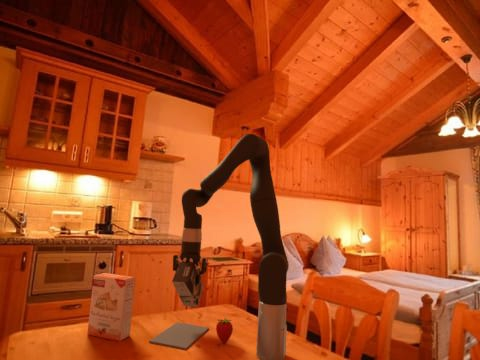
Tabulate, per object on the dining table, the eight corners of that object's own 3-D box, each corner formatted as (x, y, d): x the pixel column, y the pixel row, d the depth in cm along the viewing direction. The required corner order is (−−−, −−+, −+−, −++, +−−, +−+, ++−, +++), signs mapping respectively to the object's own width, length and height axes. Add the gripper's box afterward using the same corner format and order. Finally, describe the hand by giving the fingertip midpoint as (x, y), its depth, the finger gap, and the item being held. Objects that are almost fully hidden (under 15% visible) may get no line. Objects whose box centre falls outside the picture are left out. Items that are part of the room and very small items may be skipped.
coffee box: (198, 307, 116) (187, 282, 107) (183, 306, 118) (171, 281, 108) (204, 286, 124) (194, 261, 114) (189, 285, 125) (179, 261, 115)
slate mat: (209, 329, 118) (209, 327, 118) (185, 349, 99) (186, 348, 99) (177, 323, 122) (177, 322, 122) (149, 342, 103) (149, 340, 103)
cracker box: (86, 335, 106) (92, 274, 109) (98, 329, 112) (104, 272, 114) (119, 342, 102) (125, 279, 105) (130, 336, 108) (136, 276, 110)
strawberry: (215, 349, 101) (216, 318, 102) (215, 339, 109) (216, 311, 110) (232, 349, 101) (234, 318, 103) (231, 340, 109) (232, 311, 110)
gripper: (170, 239, 116) (166, 283, 114) (204, 242, 112) (201, 288, 110) (179, 238, 123) (176, 279, 121) (212, 240, 119) (209, 284, 117)
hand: (188, 283), depth 116 cm, fingers closed on coffee box, 7 cm apart
